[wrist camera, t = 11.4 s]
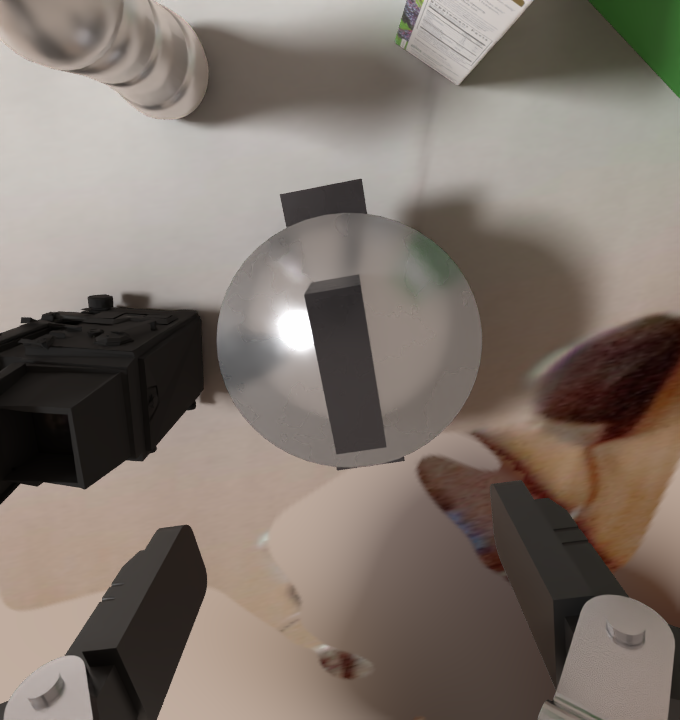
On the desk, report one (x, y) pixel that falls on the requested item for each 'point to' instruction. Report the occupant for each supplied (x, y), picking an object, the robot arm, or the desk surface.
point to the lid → (349, 340)
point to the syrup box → (455, 31)
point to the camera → (93, 390)
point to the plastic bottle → (114, 48)
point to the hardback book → (649, 32)
